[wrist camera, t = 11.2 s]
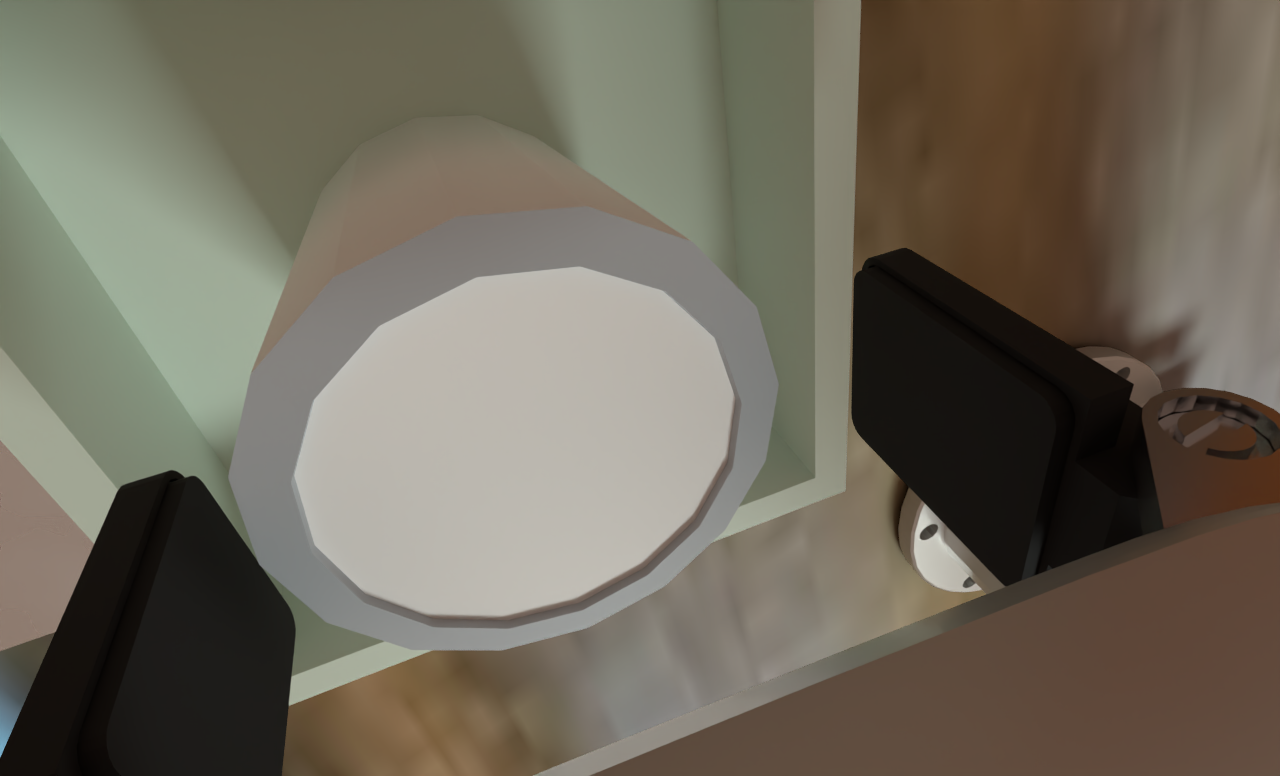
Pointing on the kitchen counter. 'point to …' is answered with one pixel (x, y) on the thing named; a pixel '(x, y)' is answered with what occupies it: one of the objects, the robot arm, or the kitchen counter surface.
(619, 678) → the kitchen counter surface
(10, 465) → the white flat board
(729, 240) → the pale green open box
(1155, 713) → the robot arm
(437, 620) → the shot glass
